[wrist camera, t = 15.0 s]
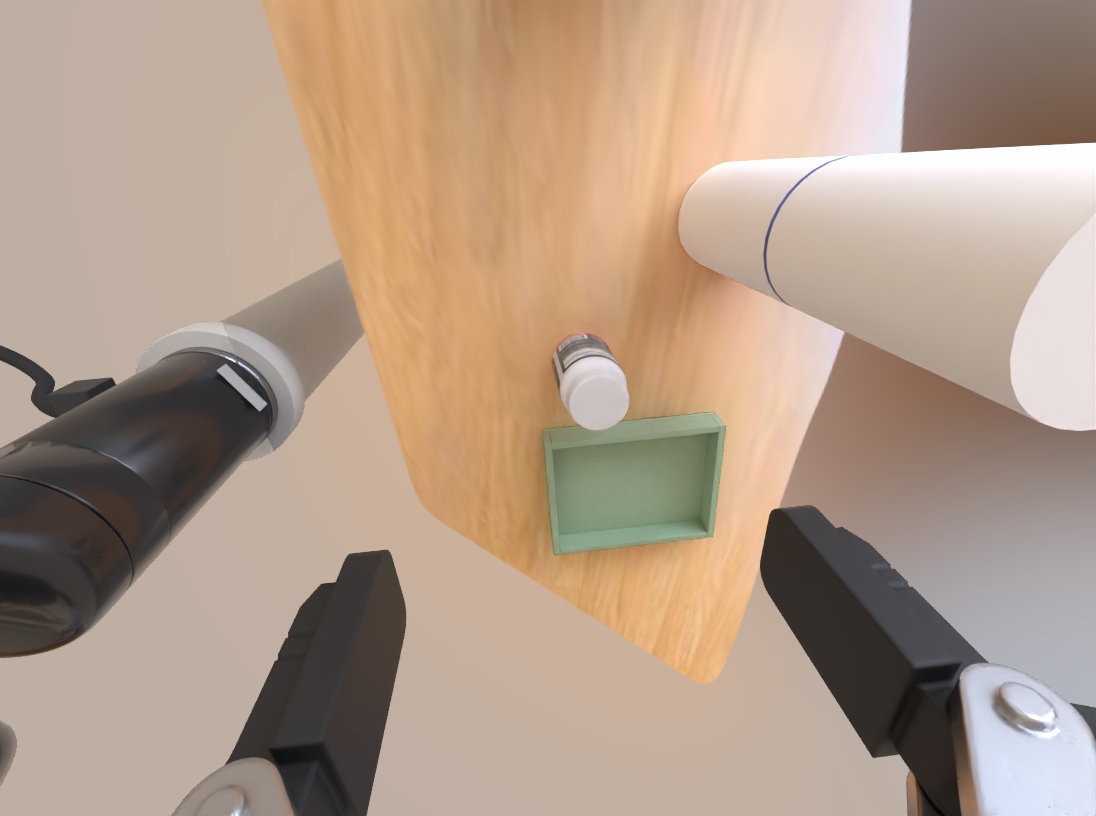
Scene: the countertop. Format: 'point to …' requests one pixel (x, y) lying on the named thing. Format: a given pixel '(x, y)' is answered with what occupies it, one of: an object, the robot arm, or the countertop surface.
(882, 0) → the countertop surface
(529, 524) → the countertop surface
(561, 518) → the tray
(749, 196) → the cylindrical container
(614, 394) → the pill bottle
